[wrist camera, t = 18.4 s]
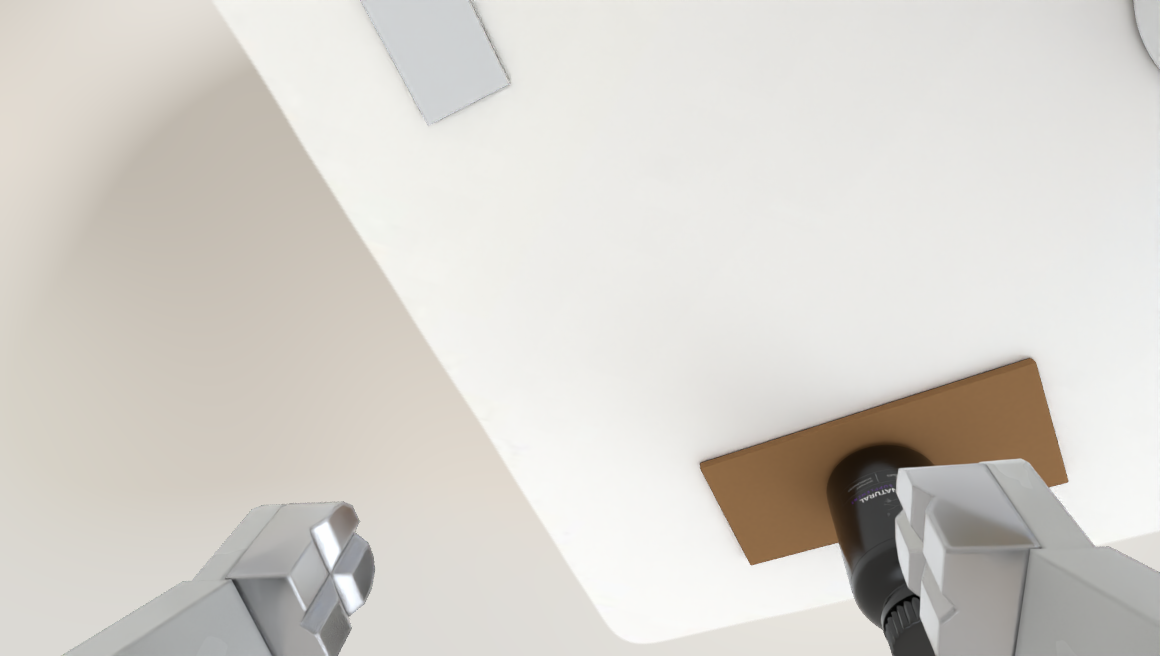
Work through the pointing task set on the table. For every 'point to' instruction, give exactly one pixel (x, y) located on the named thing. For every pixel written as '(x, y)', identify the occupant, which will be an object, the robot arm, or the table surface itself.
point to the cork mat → (920, 422)
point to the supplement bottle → (877, 542)
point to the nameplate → (438, 52)
